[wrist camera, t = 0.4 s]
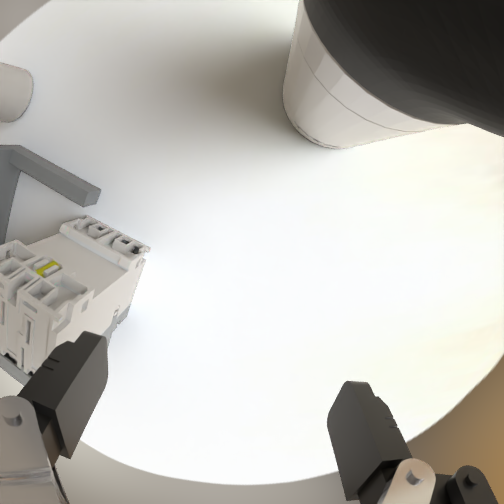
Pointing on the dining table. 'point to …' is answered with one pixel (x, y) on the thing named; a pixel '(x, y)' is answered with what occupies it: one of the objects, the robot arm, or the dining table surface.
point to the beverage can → (14, 92)
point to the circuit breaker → (63, 291)
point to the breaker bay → (21, 159)
